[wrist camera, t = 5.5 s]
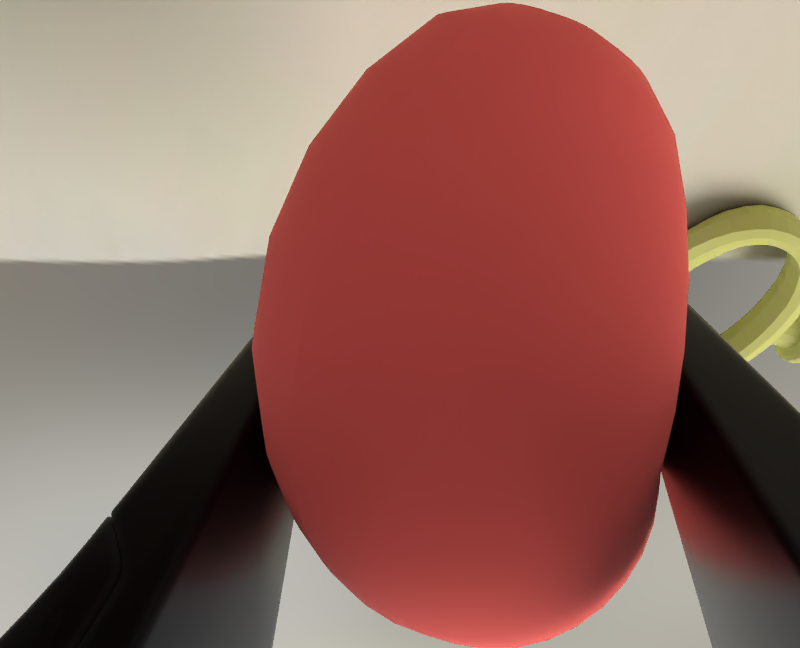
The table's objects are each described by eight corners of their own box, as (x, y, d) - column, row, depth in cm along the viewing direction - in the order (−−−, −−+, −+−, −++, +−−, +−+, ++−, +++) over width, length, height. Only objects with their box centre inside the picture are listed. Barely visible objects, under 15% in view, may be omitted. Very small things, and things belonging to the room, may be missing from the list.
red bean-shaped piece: (280, 353, 14) (373, 673, 12) (80, 18, 5) (282, 941, 3) (511, 278, 14) (639, 573, 12) (658, -133, 6) (1145, 585, 4)
